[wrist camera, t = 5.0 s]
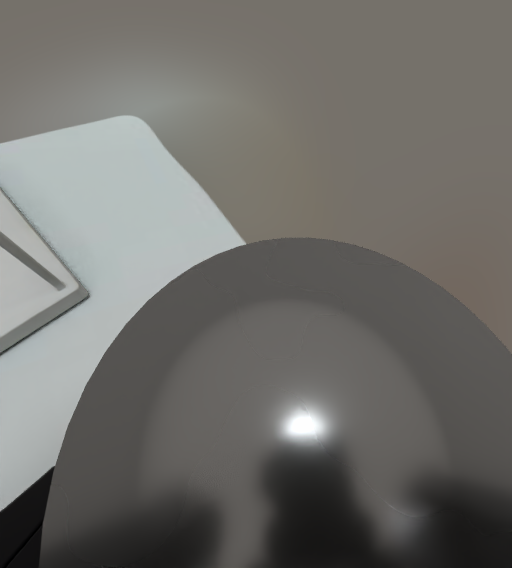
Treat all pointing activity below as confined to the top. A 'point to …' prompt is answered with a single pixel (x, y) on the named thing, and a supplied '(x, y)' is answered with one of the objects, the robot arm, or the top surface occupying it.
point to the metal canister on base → (290, 423)
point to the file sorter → (29, 278)
